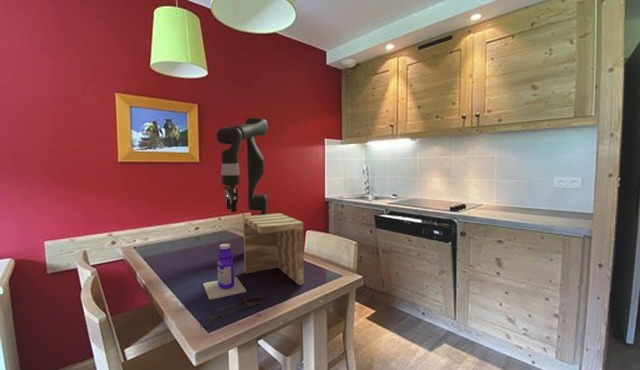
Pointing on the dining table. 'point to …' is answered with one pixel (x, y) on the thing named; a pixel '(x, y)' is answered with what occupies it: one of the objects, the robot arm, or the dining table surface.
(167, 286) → the dining table surface
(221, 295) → the mat
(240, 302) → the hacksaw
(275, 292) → the dining table surface
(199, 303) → the dining table surface
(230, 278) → the bottle
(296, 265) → the wooden slatted crate
